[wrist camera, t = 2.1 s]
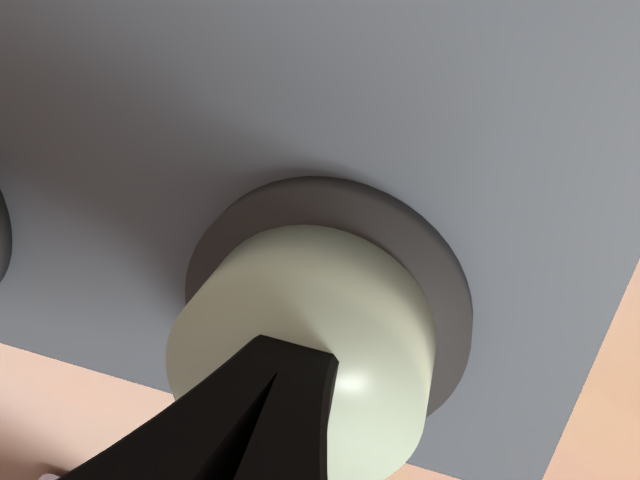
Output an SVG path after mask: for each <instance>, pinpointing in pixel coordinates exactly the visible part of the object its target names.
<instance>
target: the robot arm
mask: <svg viewBox="0 0 640 480" xmlns="http://www.w3.org/2000/svg"><path fill="white" fill-rule="evenodd" d="M338 366H339V361H338V359H337V358H336V357H335V355H334V354H332V353H328V352H325V351H321V350H317V349H313V348H310V347H306V346H302V345H298V344H295V343H291V342H287V341H284V340H280V339H276V338H273V337H269V336H265V335H262V334H260V335H258V336H256V337H254V338H253V339H252V340H251V341H249V342H248V343H247V344H246V345H245V346H244V347H243V348H241V349H240V350H239V351H238V352H237V353H235V354H234V355H233V356H232V357H231V358H230V359H228V360H227V361H226V362H225V363H224V364H222V365H221V366H220V367H219V368H217V369H216V370H215V371H214V372H213V373H211V374H210V375H209V376H208V377H206V378H205V379H204V380H203V381H201V382H200V383H199V384H197V385H196V386H195V387H193V388H192V389H191V390H190V391H188V392H187V393H186V394H184V395H183V396H182V397H180V398H179V399H178V400H176V401H175V402H174V403H172V404H171V405H170V406H168V407H167V408H166V409H164V410H163V411H162V412H160V413H159V414H157V415H156V416H155V417H153V418H152V419H150V420H149V421H147V422H146V423H144V424H143V425H141V426H140V427H138V428H137V429H136V430H134V431H133V432H131V433H130V434H128V435H127V436H125V437H124V438H122V439H121V440H119V441H118V442H116V443H115V444H113V445H112V446H110V447H109V448H107V449H106V450H104V451H103V452H101V453H99V454H98V455H96V456H95V457H93V458H91V459H90V460H88V461H86V462H85V463H83V464H82V465H80V466H78V467H77V468H75V469H73V470H71V471H70V472H68V473H66V474H65V475H63V476H61V477H60V476H57V475H54V474H43V475H42V476H41V477H40V478H39V479H38V480H328V474H327V429H328V422H329V416H330V411H331V405H332V399H333V394H334V388H335V383H336V377H337V371H338Z"/></svg>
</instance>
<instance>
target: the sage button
mask: <svg viewBox="0 0 640 480" xmlns="http://www.w3.org/2000/svg"><path fill="white" fill-rule="evenodd" d="M260 334H262V335H265V336H269V337H273V338H276V339H280V340H284V341H287V342H291V343H295V344H298V345H302V346H306V347H310V348H313V349H317V350H321V351H325V352H328V353H332V354H334V355H335V357H336V358H337V359H338V361H339V366H338V371H337V377H336V383H335V388H334V394H333V399H332V405H331V411H330V416H329V422H328V429H327V474H328V480H383V479H385V478H386V477H388V476H390V475H392V474H393V473H394V472H395V471H397V470H398V469H399V468H400V467H401V466H403V464H404V463H405V462H406V461H407V460H408V459H409V458H410V457H411V455H412V454H413V452H414V450H415V449H416V447H417V445H418V443H419V441H420V438H421V435H422V433H423V429H424V423H425V418H426V412H427V405H428V399H429V393H430V386H431V380H432V373H433V367H434V361H435V354H436V342H437V335H436V327H435V321H434V318H433V314H432V311H431V308H430V306H429V304H428V301H427V299H426V297H425V295H424V293H423V292H422V290H421V289H420V287H419V285H418V284H417V282H416V281H415V280H414V279H413V277H412V276H411V275H410V274H409V273H408V271H407V270H406V269H405V268H404V267H403V266H402V265H401V264H400V263H399V262H397V261H396V260H395V259H394V258H393V257H392V256H390V255H389V254H388V253H386V252H385V251H384V250H382V249H381V248H379V247H378V246H376V245H374V244H372V243H371V242H369V241H367V240H365V239H363V238H361V237H358V236H356V235H354V234H351V233H348V232H345V231H342V230H338V229H335V228H330V227H324V226H319V225H303V224H301V225H287V226H281V227H277V228H272V229H269V230H266V231H263V232H260V233H258V234H256V235H254V236H252V237H250V238H248V239H246V240H245V241H244V242H242V243H241V244H240V245H238V246H237V247H236V248H234V250H233V251H232V252H231V253H230V254H229V255H228V256H227V257H226V258H225V259H224V260H223V262H222V263H221V264H220V265H219V266H218V268H217V269H216V270H215V271H214V272H213V274H212V275H211V276H210V277H209V278H208V280H207V281H206V282H205V283H204V284H203V286H202V287H201V288H200V289H199V290H198V292H197V293H196V294H195V295H194V296H193V298H192V299H191V300H190V301H189V302H188V304H187V305H186V306H185V307H184V308H183V310H182V311H181V313H180V314H179V316H178V317H177V318H176V320H175V322H174V324H173V326H172V328H171V331H170V333H169V337H168V341H167V345H166V357H165V360H166V372H167V377H168V381H169V385H170V388H171V391H172V394H173V396H174V399H175V401H176V400H178V399H179V398H180V397H182V396H183V395H184V394H186V393H187V392H188V391H190V390H191V389H192V388H193V387H195V386H196V385H197V384H199V383H200V382H201V381H203V380H204V379H205V378H206V377H208V376H209V375H210V374H211V373H213V372H214V371H215V370H216V369H217V368H219V367H220V366H221V365H222V364H224V363H225V362H226V361H227V360H228V359H230V358H231V357H232V356H233V355H234V354H235V353H237V352H238V351H239V350H240V349H241V348H243V347H244V346H245V345H246V344H247V343H248V342H249V341H251V340H252V339H253V338H254V337H256V336H258V335H260Z"/></svg>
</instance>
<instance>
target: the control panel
mask: <svg viewBox="0 0 640 480" xmlns="http://www.w3.org/2000/svg"><path fill="white" fill-rule="evenodd" d="M301 224H303V225H319V226H324V227H330V228H335V229H338V230H342V231H345V232H348V233H351V234H354V235H356V236H358V237H361V238H363V239H365V240H367V241H369V242H371V243H372V244H374V245H376V246H378V247H379V248H381V249H382V250H384V251H385V252H386V253H388V254H389V255H390V256H392V257H393V258H394V259H395V260H396V261H397V262H399V263H400V264H401V265H402V266H403V267H404V268H405V269H406V270H407V271H408V273H409V274H410V275H411V276H412V277H413V279H414V280H415V281H416V282H417V284H418V285H419V287H420V289H421V290H422V292H423V293H424V295H425V297H426V299H427V301H428V304H429V306H430V308H431V311H432V314H433V318H434V321H435V327H436V335H437V342H436V354H435V361H434V367H433V373H432V380H431V386H430V393H429V399H428V405H427V412H426V418H425V423H424V429H423V433H422V435H421V438H420V441H419V443H418V445H417V447H416V449H415V450H414V452H413V454H412V455H411V457H410V458H409V459H408V460H407V461H406V462H405V463H407V464H411V465H414V466H418V467H421V468H424V469H428V470H431V471H434V472H438V473H441V474H445V475H448V476H451V477H455V478H458V479H461V480H542V479H543V476H544V474H545V472H546V470H547V467H548V465H549V463H550V460H551V458H552V456H553V454H554V451H555V449H556V447H557V445H558V442H559V440H560V438H561V436H562V433H563V431H564V429H565V426H566V424H567V422H568V420H569V417H570V415H571V413H572V411H573V408H574V406H575V404H576V401H577V399H578V397H579V395H580V392H581V390H582V388H583V386H584V383H585V381H586V379H587V377H588V374H589V372H590V370H591V367H592V365H593V363H594V361H595V358H596V356H597V354H598V352H599V349H600V347H601V345H602V343H603V340H604V338H605V336H606V333H607V331H608V329H609V327H610V324H611V322H612V320H613V318H614V315H615V313H616V311H617V308H618V306H619V304H620V302H621V299H622V297H623V295H624V293H625V290H626V288H627V286H628V284H629V281H630V279H631V277H632V274H633V272H634V270H635V268H636V265H637V263H638V261H639V259H640V0H0V343H3V344H6V345H9V346H13V347H16V348H19V349H23V350H26V351H30V352H33V353H36V354H40V355H43V356H46V357H50V358H53V359H57V360H60V361H63V362H67V363H70V364H73V365H77V366H80V367H84V368H87V369H90V370H94V371H97V372H100V373H104V374H107V375H111V376H114V377H117V378H121V379H124V380H127V381H131V382H134V383H138V384H141V385H144V386H148V387H151V388H154V389H158V390H161V391H165V392H168V393H171V394H172V391H171V388H170V385H169V381H168V377H167V372H166V360H165V357H166V345H167V341H168V337H169V333H170V331H171V328H172V326H173V324H174V322H175V320H176V318H177V317H178V316H179V314H180V313H181V311H182V310H183V308H184V307H185V306H186V305H187V304H188V302H189V301H190V300H191V299H192V298H193V296H194V295H195V294H196V293H197V292H198V290H199V289H200V288H201V287H202V286H203V284H204V283H205V282H206V281H207V280H208V278H209V277H210V276H211V275H212V274H213V272H214V271H215V270H216V269H217V268H218V266H219V265H220V264H221V263H222V262H223V260H224V259H225V258H226V257H227V256H228V255H229V254H230V253H231V252H232V251H233V250H234V248H236V247H237V246H238V245H240V244H241V243H242V242H244V241H245V240H246V239H248V238H250V237H252V236H254V235H256V234H258V233H260V232H263V231H266V230H269V229H272V228H277V227H281V226H287V225H301Z"/></svg>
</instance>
